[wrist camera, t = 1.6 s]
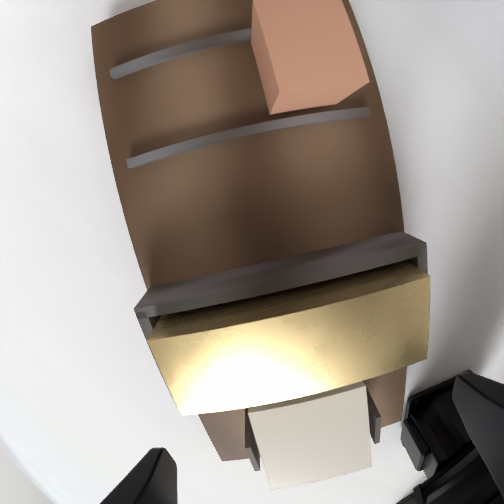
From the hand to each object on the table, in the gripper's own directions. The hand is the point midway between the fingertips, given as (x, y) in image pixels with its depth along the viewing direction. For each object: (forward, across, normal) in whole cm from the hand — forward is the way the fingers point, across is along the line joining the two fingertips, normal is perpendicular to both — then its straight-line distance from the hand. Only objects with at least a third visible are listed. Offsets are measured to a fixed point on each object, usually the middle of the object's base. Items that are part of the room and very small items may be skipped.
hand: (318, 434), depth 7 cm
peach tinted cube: (+8, -3, -11) cm, 14 cm away
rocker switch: (+5, 0, +7) cm, 9 cm away
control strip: (+10, 0, -3) cm, 10 cm away
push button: (+6, 0, 0) cm, 6 cm away
